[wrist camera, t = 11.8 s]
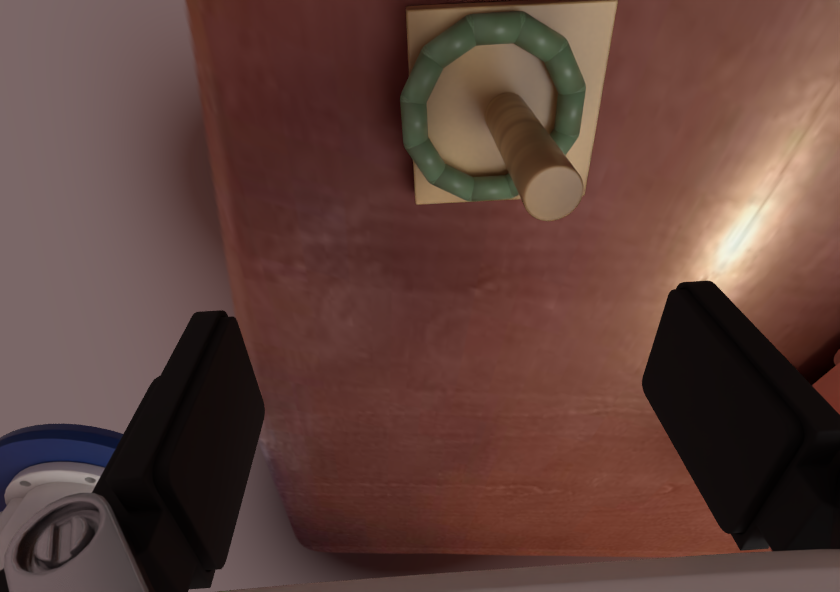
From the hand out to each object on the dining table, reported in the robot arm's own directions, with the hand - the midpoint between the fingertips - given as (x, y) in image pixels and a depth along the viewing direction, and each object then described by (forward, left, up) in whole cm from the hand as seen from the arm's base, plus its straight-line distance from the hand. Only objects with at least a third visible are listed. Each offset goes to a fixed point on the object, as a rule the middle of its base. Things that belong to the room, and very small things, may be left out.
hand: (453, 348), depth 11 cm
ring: (+3, 0, -15) cm, 15 cm away
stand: (+4, 0, -17) cm, 18 cm away
